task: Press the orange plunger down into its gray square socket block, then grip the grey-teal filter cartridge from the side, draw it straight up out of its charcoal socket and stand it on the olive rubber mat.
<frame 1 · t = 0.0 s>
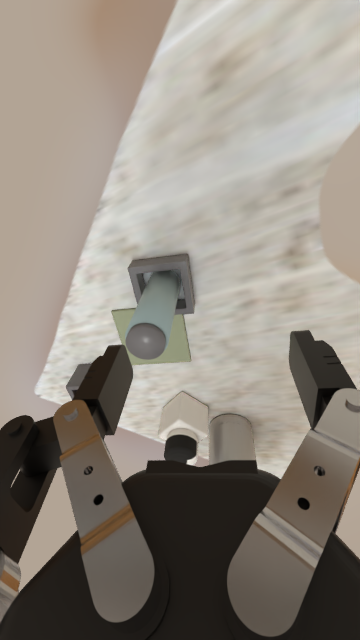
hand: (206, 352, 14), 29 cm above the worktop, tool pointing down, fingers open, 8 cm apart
cartridge socket: (164, 283, 44), on the worktop
medicine bottle: (185, 406, 60), on the worktop
gray square socket block: (94, 373, 56), on the worktop
rubber mat: (153, 336, 50), on the worktop
filter cartridge: (164, 283, 44), resting in cartridge socket
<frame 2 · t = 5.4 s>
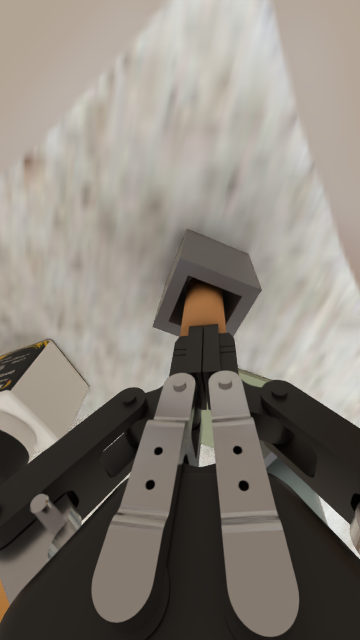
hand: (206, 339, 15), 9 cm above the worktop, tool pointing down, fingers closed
medicine bottle: (46, 370, 30), on the worktop
plunger: (203, 310, 17), point 6 cm above the worktop, slide at 0.2 cm, touching gripper
gray square socket block: (204, 271, 22), on the worktop
rubber mat: (221, 409, 30), on the worktop
filter cartridge: (282, 454, 34), resting in cartridge socket
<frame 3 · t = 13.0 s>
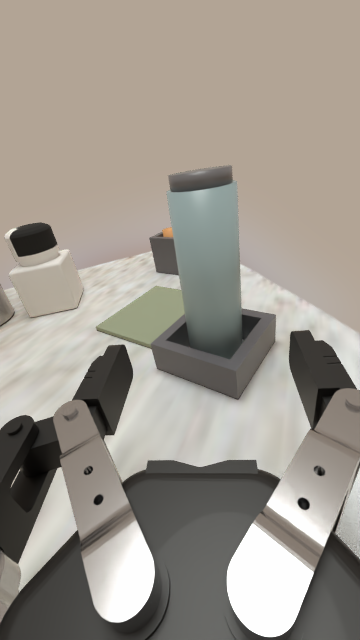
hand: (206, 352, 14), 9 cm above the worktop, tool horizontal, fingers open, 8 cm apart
cartridge socket: (216, 354, 27), on the worktop
medicine bottle: (59, 304, 44), on the worktop
plunger: (172, 245, 47), point 4 cm above the worktop, slide at 2.3 cm
gray square socket block: (176, 267, 49), on the worktop
rubber mat: (163, 315, 35), on the worktop
filter cartridge: (216, 353, 27), resting in cartridge socket
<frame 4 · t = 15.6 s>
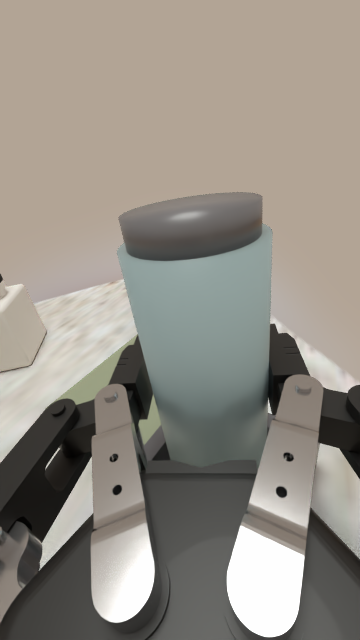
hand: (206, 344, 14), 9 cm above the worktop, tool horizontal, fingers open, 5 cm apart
cartridge socket: (221, 489, 17), on the worktop
medicine bottle: (11, 355, 34), on the worktop
rubber mat: (143, 389, 25), on the worktop
filter cartridge: (221, 489, 17), resting in cartridge socket, touching gripper
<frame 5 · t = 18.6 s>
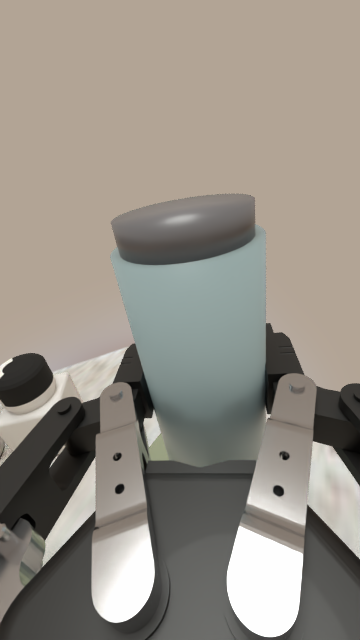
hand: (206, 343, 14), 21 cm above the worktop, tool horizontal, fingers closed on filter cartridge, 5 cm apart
medicine bottle: (57, 434, 37), on the worktop
rubber mat: (183, 489, 28), on the worktop
filter cartridge: (221, 490, 17), point 12 cm above the worktop, touching gripper
when the fingers open (11 cm above the worktop, at t = 21.3 s): filter cartridge drops 2 cm, resting on rubber mat.
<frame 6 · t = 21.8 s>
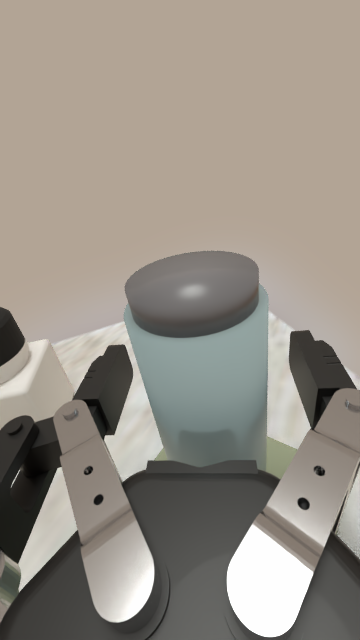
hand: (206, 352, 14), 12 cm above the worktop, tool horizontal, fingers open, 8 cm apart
medicine bottle: (33, 427, 27), on the worktop
rubber mat: (225, 509, 18), on the worktop
filter cartridge: (224, 507, 18), point 1 cm above the worktop, touching rubber mat
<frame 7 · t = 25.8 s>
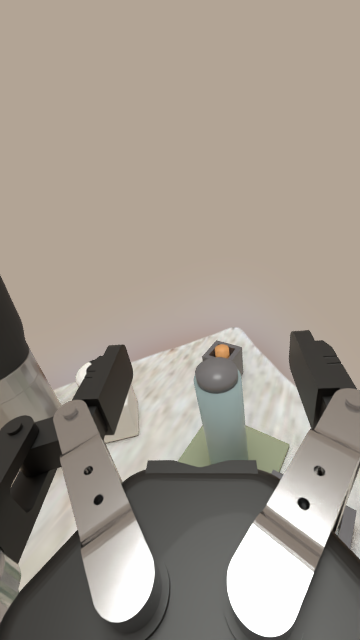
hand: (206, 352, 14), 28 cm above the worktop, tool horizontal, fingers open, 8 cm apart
cartridge socket: (298, 539, 29), on the worktop
medicine bottle: (117, 423, 46), on the worktop
plunger: (223, 360, 49), point 4 cm above the worktop, slide at 2.3 cm
gray square socket block: (224, 377, 51), on the worktop
rubber mat: (229, 462, 37), on the worktop
filter cartridge: (229, 460, 37), point 1 cm above the worktop, touching rubber mat
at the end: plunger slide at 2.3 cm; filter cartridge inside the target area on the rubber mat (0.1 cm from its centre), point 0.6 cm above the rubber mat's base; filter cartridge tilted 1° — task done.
